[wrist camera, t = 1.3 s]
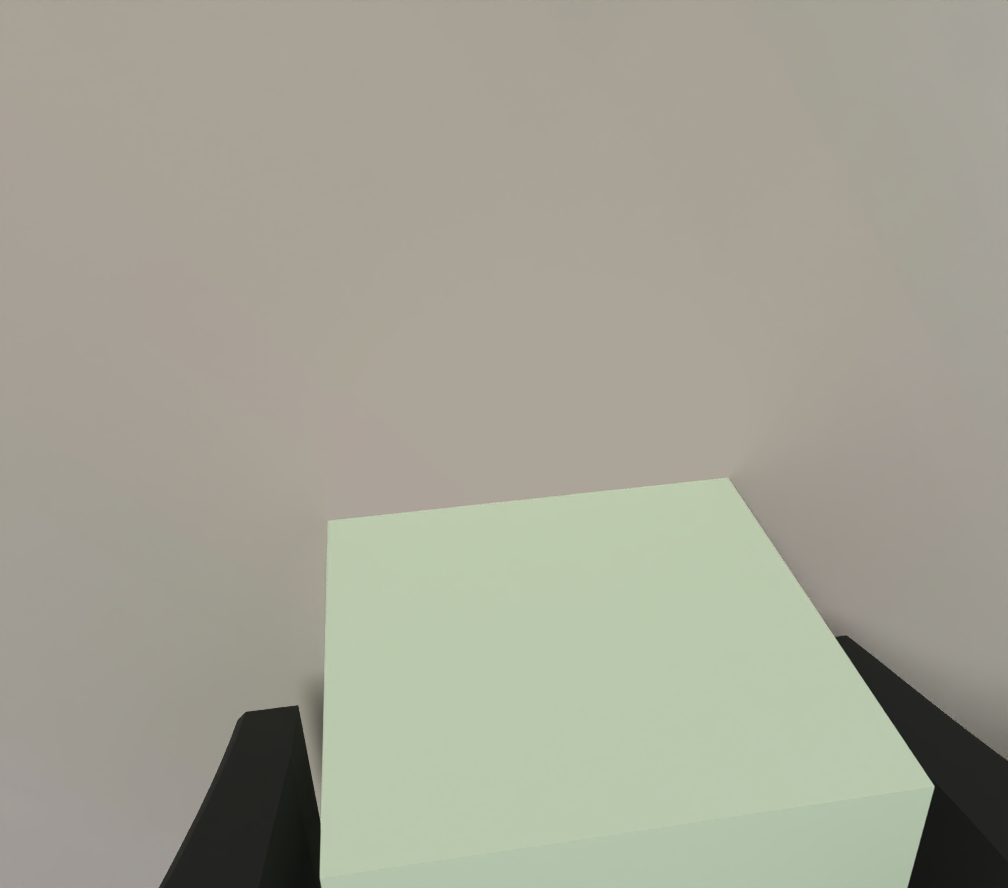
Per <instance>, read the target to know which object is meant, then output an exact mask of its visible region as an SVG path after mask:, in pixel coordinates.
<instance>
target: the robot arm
mask: <svg viewBox="0 0 1008 888" xmlns="http://www.w3.org/2000/svg"><path fill="white" fill-rule="evenodd" d="M835 638H836V640H837V641H838V643H839V644H840V646H841V647H842V649H843V650H844V652H845V653H846V655H847V656H848V658H849V659H850V661H851V662H852V664H853V665H854V667H855V668H856V670H857V671H858V673H859V674H860V676H861V677H862V679H863V680H864V682H865V683H866V685H867V686H868V688H869V689H870V691H871V692H872V694H873V695H874V697H875V698H876V700H877V701H878V703H879V704H880V706H881V707H882V709H883V710H884V712H885V713H886V714H887V716H888V717H889V719H890V720H891V722H892V723H893V725H894V726H895V728H896V729H897V731H898V732H899V734H900V735H901V737H902V738H903V740H904V741H905V743H906V744H907V746H908V747H909V749H910V750H911V752H912V753H913V755H914V756H915V758H916V759H917V761H918V762H919V764H920V765H921V767H922V768H923V770H924V771H925V773H926V774H927V776H928V777H929V779H930V780H931V782H932V783H933V785H934V786H935V787H934V791H933V795H932V798H931V802H930V806H929V809H928V813H927V817H926V821H925V824H924V828H923V832H922V835H921V839H920V843H919V846H918V850H917V854H916V858H915V861H914V865H913V869H912V872H911V876H910V880H909V884H908V887H907V888H1008V761H1007V760H1006V759H1004V758H1003V757H1002V756H1000V755H999V754H998V753H996V752H995V751H994V750H992V749H991V748H990V747H988V746H987V745H986V744H984V743H983V742H982V741H980V740H979V739H978V738H976V737H975V736H974V735H972V734H971V733H970V732H968V731H967V730H966V729H964V728H963V727H962V726H961V725H959V724H958V723H957V722H955V721H954V720H953V719H952V718H950V717H949V716H948V715H946V714H945V713H944V712H943V711H941V710H940V709H939V708H937V707H936V706H935V705H934V704H932V703H931V702H930V701H929V700H927V699H926V698H925V697H924V696H922V695H921V694H920V693H919V692H917V691H916V690H915V689H913V688H912V687H911V686H910V685H908V684H907V683H906V682H905V681H903V680H902V679H901V678H900V677H898V676H897V675H896V674H895V673H893V672H892V671H891V670H890V669H888V668H887V667H886V666H885V665H883V664H882V663H881V662H880V661H878V660H877V659H876V658H875V657H873V656H872V655H871V654H870V653H868V652H867V651H866V650H865V649H863V648H862V647H861V646H859V645H858V644H857V643H856V642H854V641H853V640H852V639H850V638H849V637H848V636H839V637H835ZM320 842H321V823H320V818H319V812H318V807H317V802H316V797H315V791H314V786H313V781H312V776H311V770H310V765H309V760H308V755H307V749H306V744H305V739H304V733H303V728H302V723H301V718H300V712H299V707H298V705H297V706H289V707H281V708H273V709H265V710H258V711H250V712H245V713H244V714H243V715H242V716H241V717H240V718H239V719H238V721H237V723H236V726H235V729H234V731H233V734H232V737H231V739H230V742H229V744H228V747H227V749H226V752H225V754H224V756H223V759H222V761H221V763H220V766H219V768H218V770H217V773H216V775H215V777H214V779H213V782H212V784H211V786H210V788H209V790H208V792H207V794H206V797H205V799H204V801H203V803H202V805H201V807H200V809H199V811H198V814H197V816H196V818H195V820H194V821H193V823H192V825H191V827H190V829H189V831H188V833H187V835H186V837H185V839H184V841H183V843H182V845H181V847H180V849H179V851H178V853H177V855H176V856H175V858H174V860H173V862H172V864H171V866H170V868H169V870H168V872H167V874H166V876H165V877H164V879H163V881H162V883H161V885H160V887H159V888H321V882H320Z"/></svg>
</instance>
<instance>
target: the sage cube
mask: <svg viewBox="0 0 1008 888" xmlns="http://www.w3.org/2000/svg"><path fill="white" fill-rule="evenodd" d="M934 787H935V786H934V785H933V783H932V782H931V780H930V779H929V777H928V776H927V774H926V773H925V771H924V770H923V768H922V767H921V765H920V764H919V762H918V761H917V759H916V758H915V756H914V755H913V753H912V752H911V750H910V749H909V747H908V746H907V744H906V743H905V741H904V740H903V738H902V737H901V735H900V734H899V732H898V731H897V729H896V728H895V726H894V725H893V723H892V722H891V720H890V719H889V717H888V716H887V714H886V713H885V712H884V710H883V709H882V707H881V706H880V704H879V703H878V701H877V700H876V698H875V697H874V695H873V694H872V692H871V691H870V689H869V688H868V686H867V685H866V683H865V682H864V680H863V679H862V677H861V676H860V674H859V673H858V671H857V670H856V668H855V667H854V665H853V664H852V662H851V661H850V659H849V658H848V656H847V655H846V653H845V652H844V650H843V649H842V647H841V646H840V644H839V643H838V641H837V640H836V638H835V637H834V635H833V634H832V632H831V631H830V629H829V628H828V626H827V625H826V623H825V622H824V620H823V619H822V617H821V616H820V614H819V613H818V611H817V610H816V608H815V607H814V605H813V604H812V602H811V601H810V599H809V598H808V596H807V595H806V593H805V592H804V590H803V589H802V588H801V586H800V585H799V583H798V582H797V580H796V579H795V577H794V576H793V574H792V573H791V571H790V570H789V568H788V567H787V565H786V564H785V562H784V561H783V559H782V558H781V556H780V555H779V553H778V552H777V550H776V549H775V547H774V546H773V544H772V543H771V541H770V540H769V538H768V537H767V535H766V534H765V532H764V531H763V529H762V528H761V526H760V525H759V523H758V522H757V520H756V519H755V517H754V516H753V514H752V513H751V511H750V510H749V508H748V507H747V505H746V504H745V502H744V501H743V499H742V498H741V496H740V495H739V493H738V492H737V490H736V489H735V487H734V486H733V484H732V483H731V481H730V480H729V478H720V479H711V480H701V481H692V482H683V483H674V484H664V485H655V486H646V487H637V488H628V489H618V490H609V491H600V492H591V493H581V494H572V495H563V496H554V497H544V498H535V499H526V500H517V501H507V502H498V503H489V504H480V505H470V506H461V507H452V508H443V509H433V510H424V511H415V512H406V513H396V514H387V515H378V516H369V517H359V518H350V519H341V520H332V521H328V544H327V586H326V629H325V672H324V714H323V757H322V799H321V842H320V882H321V887H322V888H907V887H908V884H909V880H910V876H911V872H912V869H913V865H914V861H915V858H916V854H917V850H918V846H919V843H920V839H921V835H922V832H923V828H924V824H925V821H926V817H927V813H928V809H929V806H930V802H931V798H932V795H933V791H934Z"/></svg>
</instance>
